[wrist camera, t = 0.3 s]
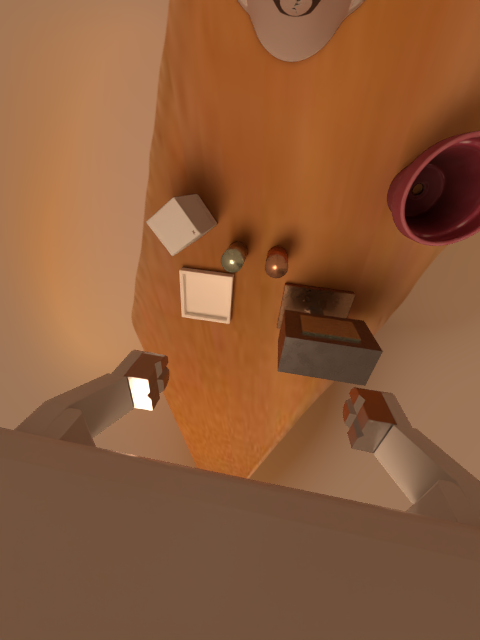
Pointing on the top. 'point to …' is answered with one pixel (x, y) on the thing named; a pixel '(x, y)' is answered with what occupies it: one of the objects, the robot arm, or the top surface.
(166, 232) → the supplement box
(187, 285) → the tray
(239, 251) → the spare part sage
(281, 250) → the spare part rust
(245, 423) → the top surface
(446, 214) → the plant pot
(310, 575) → the robot arm
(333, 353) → the mounted unit
